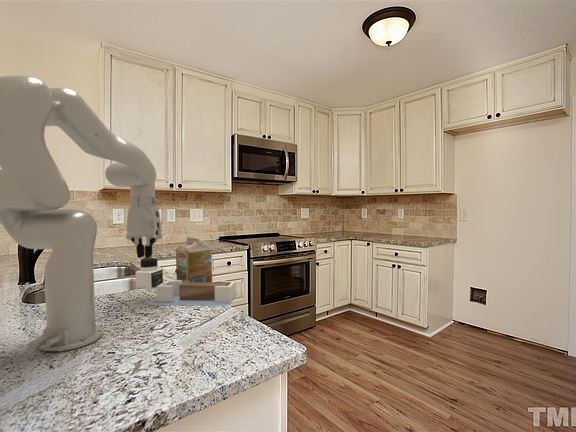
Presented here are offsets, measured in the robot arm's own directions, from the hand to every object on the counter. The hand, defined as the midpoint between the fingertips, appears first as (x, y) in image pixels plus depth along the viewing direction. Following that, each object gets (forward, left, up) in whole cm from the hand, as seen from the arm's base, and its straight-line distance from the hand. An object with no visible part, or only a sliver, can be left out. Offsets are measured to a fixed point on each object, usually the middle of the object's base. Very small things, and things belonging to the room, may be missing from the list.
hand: (144, 256), depth 102 cm
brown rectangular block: (0, -21, -14) cm, 25 cm away
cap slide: (0, -8, -14) cm, 16 cm away
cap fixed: (0, -28, -14) cm, 31 cm away
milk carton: (+24, -7, -15) cm, 30 cm away
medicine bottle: (+16, +8, -15) cm, 23 cm away
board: (0, -17, -15) cm, 23 cm away
